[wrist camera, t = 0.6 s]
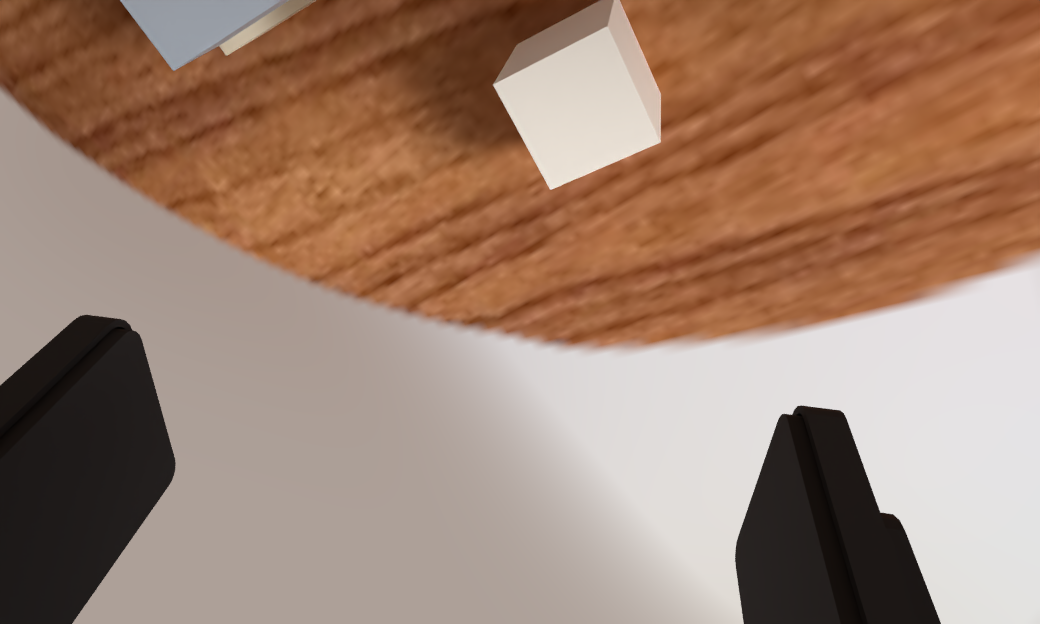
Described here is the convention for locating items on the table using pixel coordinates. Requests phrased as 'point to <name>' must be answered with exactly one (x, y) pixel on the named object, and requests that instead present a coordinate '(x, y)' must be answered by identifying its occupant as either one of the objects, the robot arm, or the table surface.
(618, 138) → the white block
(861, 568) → the robot arm
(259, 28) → the tower base
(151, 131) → the table surface
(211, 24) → the tower top
